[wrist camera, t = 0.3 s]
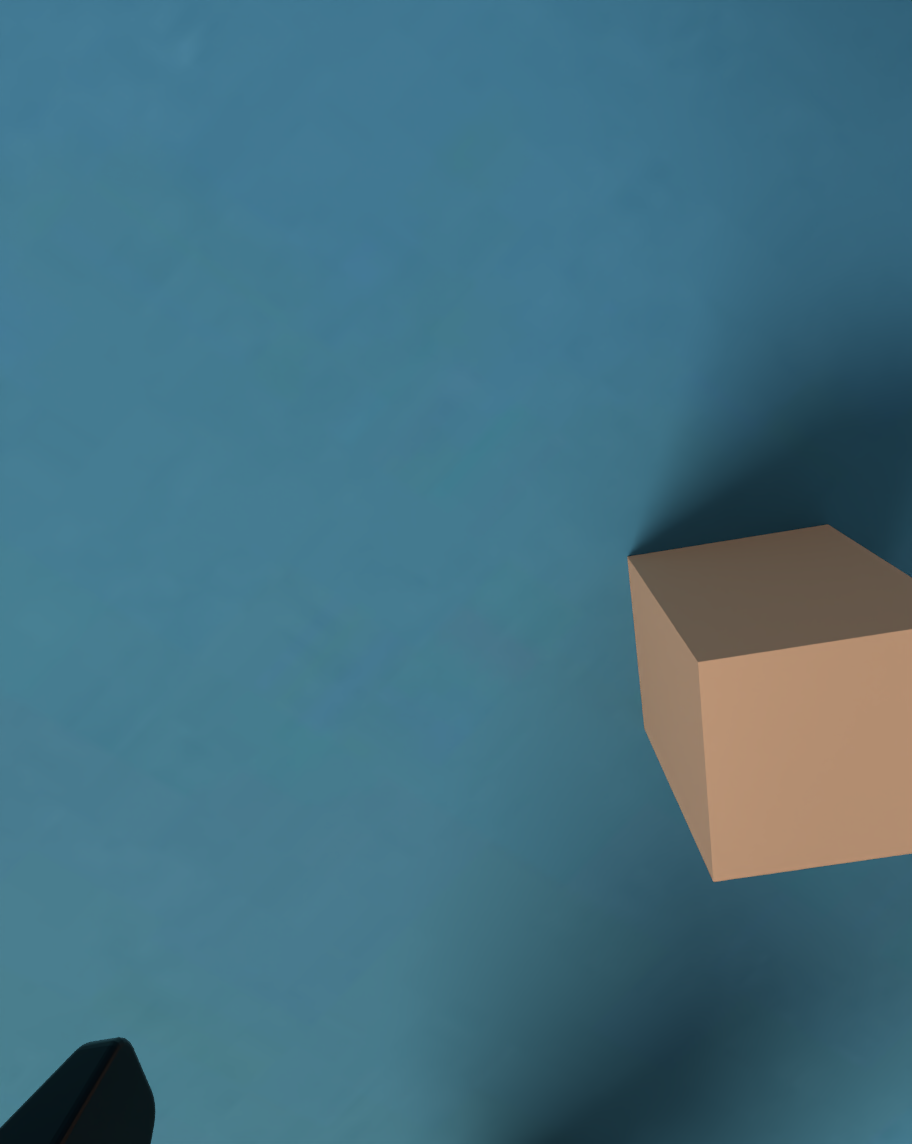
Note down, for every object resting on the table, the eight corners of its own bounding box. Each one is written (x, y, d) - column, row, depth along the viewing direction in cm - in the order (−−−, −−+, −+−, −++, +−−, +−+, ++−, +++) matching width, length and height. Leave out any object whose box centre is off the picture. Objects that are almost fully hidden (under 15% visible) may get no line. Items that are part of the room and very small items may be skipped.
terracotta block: (828, 699, 22) (963, 846, 16) (643, 727, 22) (713, 881, 16) (827, 523, 20) (977, 618, 15) (627, 556, 20) (698, 662, 15)
